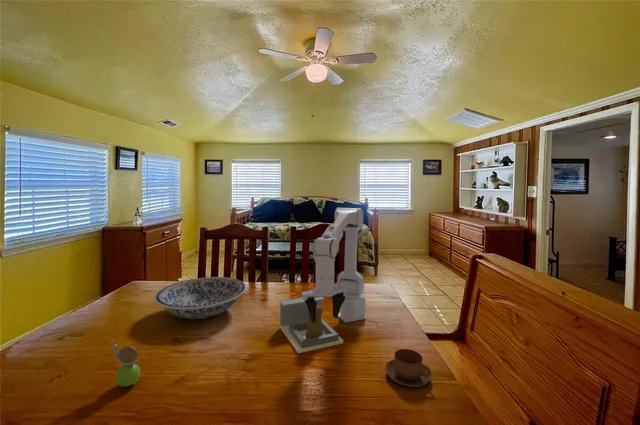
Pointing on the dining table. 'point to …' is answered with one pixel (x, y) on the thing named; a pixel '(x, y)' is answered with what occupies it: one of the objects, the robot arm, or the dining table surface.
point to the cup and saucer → (408, 369)
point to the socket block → (304, 326)
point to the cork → (315, 324)
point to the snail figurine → (126, 365)
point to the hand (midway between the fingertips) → (324, 319)
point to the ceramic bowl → (200, 296)
